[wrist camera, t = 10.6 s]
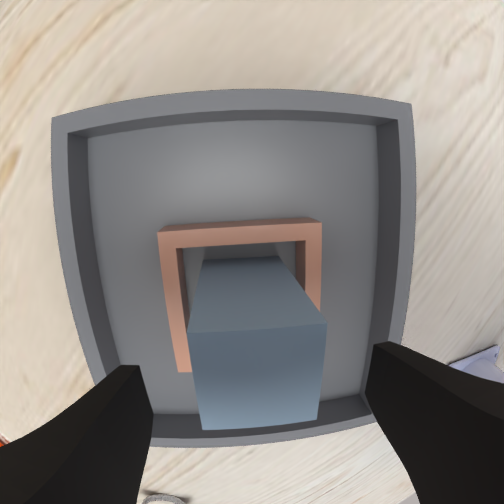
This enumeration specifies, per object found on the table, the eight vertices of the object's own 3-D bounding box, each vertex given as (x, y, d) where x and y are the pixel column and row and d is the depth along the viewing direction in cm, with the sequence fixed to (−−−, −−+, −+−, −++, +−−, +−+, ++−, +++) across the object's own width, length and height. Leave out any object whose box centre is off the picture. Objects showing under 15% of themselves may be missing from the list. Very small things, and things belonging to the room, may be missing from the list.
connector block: (278, 323, 17) (316, 419, 9) (208, 327, 17) (202, 430, 9) (278, 255, 16) (327, 322, 8) (203, 259, 16) (186, 332, 8)
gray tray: (365, 396, 20) (381, 420, 17) (129, 416, 18) (120, 443, 16) (384, 113, 15) (411, 103, 12) (77, 126, 14) (51, 117, 11)
